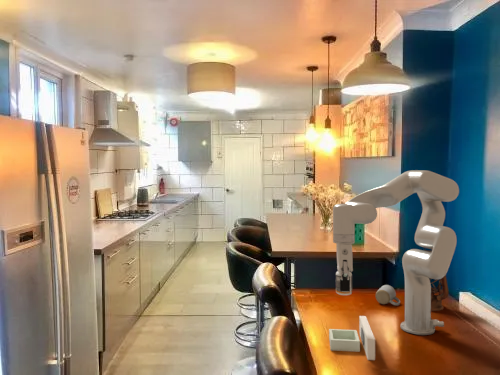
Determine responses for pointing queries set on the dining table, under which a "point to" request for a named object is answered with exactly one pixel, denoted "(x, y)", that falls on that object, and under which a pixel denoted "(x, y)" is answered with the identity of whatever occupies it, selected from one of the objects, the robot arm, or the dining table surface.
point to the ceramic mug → (387, 295)
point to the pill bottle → (338, 277)
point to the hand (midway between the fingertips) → (343, 287)
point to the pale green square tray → (344, 340)
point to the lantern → (437, 299)
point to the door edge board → (367, 337)
